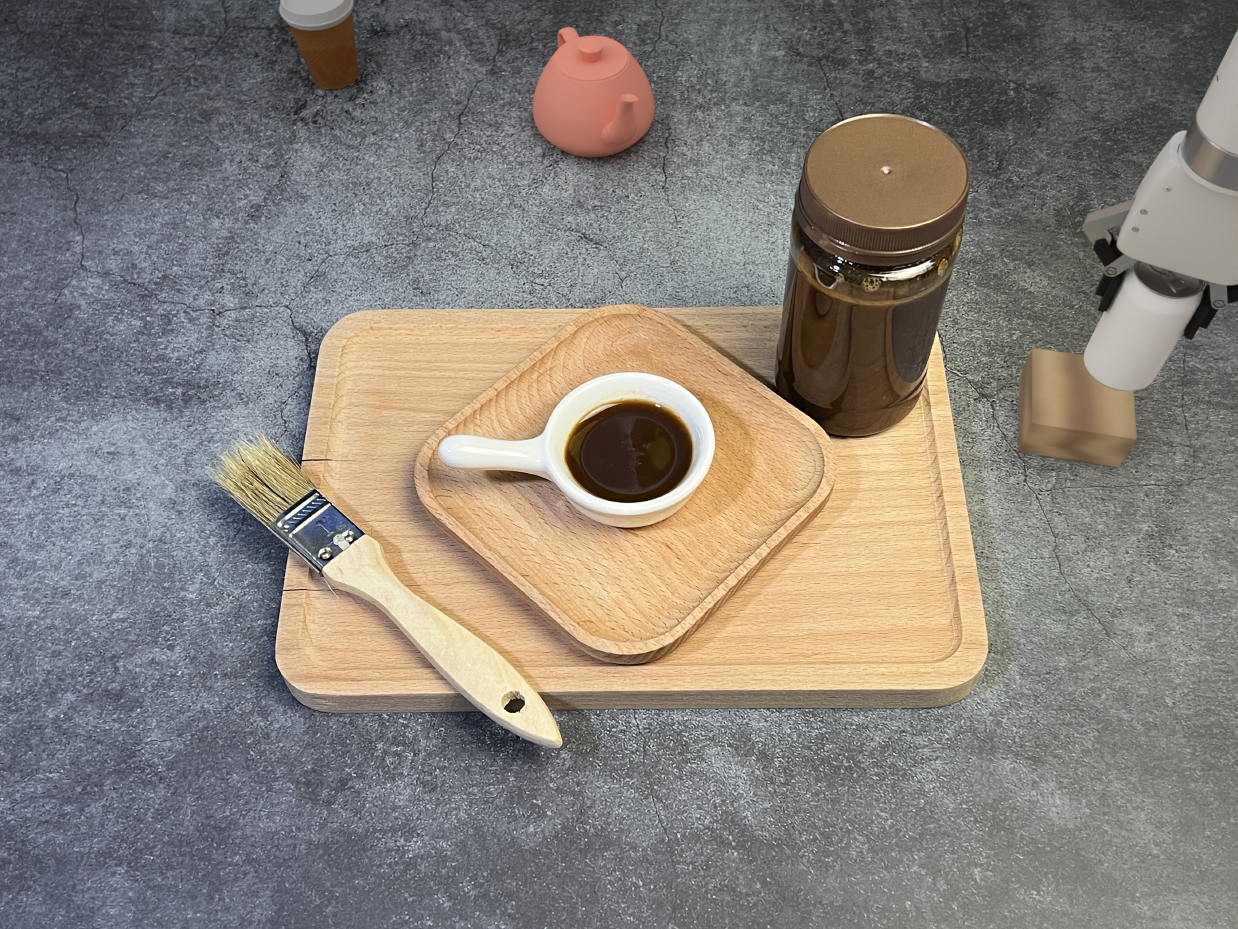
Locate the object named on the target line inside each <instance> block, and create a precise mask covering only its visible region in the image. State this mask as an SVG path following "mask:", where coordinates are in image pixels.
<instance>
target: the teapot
mask: <svg viewBox="0 0 1238 929" xmlns="http://www.w3.org/2000/svg"><path fill="white" fill-rule="evenodd" d="M557 47H558V48H557V50H556V51H555V52H554V53H553V55H552V56H551V57H550V59H549V60H548V62H547V64H546V65H545V67H544V68H543V70H542V72H541V74H540V76H539V77H538V81H537V82H536V83H537V84H536V86H535V90H534V94H533V102H532V115H533V120H534V124H535V126H536V128H537V130H538V131H539V133H540V134H541V136H543V138H545V139H546V140H547V142H549V143H550V144H552V145H553V146H555V147H556V148H558V149H559V150H561V151H563V152H565V153H567V154H570V155H573V156H577V157H582V158H602V157H607V156H611V155H616V154H618V153H621V152H623V151H625V150H627V149H629V148H630V147H631V146H633V145H634V144H635V143H637V142H638V141H639V140H640V139H641V138H642V137H644V136H645V135H646V134H647V132H648V131H649V129H650V127H651V126H652V124H653V121H654V118H655V112H656V110H655V99H654V94H653V90H652V86H651V84H650V81H649V79H648V77H647V75H646V72H645V71H644V70H643V68H642V66H641V65H640V63H639V62H638V61H637V59H636V58H635V56H634V55H633V54H632V53H631V52H630V51H629V50H628V49H627V48H626V47H625V46H624V45H623V44H622V43H620V42H619V41H617V40H615V39H613V38H610V37H607V36H601V35H584V36H579V34H578V31H577V29H576V28H574V27H572V26H565V27H563V28H561V29H559V30H558V31H557Z"/></svg>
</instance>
